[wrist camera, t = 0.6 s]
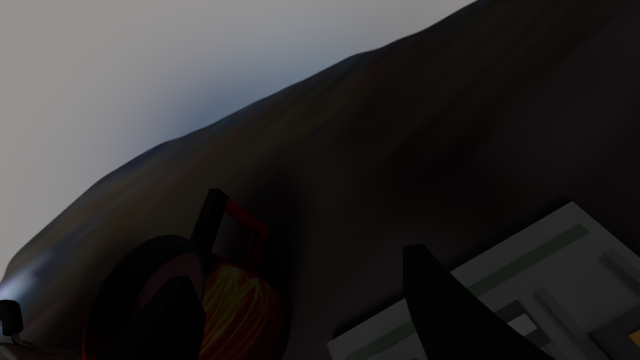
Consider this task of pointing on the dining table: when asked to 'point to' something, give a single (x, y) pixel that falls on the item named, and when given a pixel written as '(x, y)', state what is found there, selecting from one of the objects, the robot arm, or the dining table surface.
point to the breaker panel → (527, 290)
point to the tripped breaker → (620, 336)
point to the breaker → (523, 323)
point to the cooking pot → (23, 354)
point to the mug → (198, 290)
